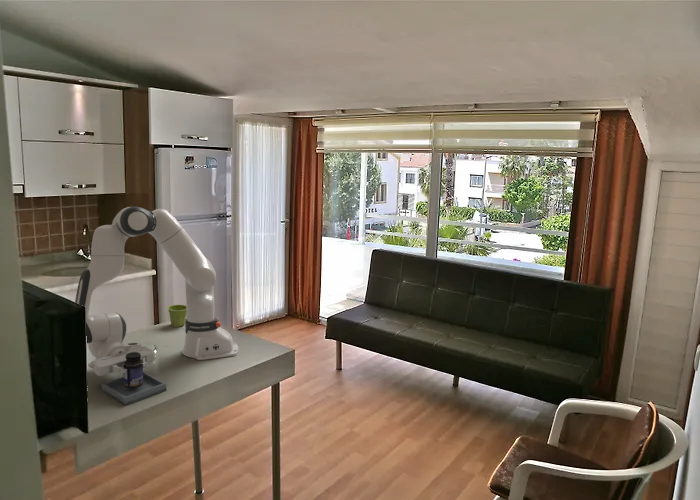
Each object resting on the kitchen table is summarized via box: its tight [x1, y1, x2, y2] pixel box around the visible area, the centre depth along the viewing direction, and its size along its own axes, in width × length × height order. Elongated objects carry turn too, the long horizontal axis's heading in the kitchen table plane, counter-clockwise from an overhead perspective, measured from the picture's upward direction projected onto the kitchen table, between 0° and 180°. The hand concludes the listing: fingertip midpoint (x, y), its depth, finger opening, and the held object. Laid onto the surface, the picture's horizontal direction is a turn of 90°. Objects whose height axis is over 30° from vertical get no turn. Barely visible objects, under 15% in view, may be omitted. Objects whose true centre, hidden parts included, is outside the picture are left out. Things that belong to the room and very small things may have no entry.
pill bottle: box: [123, 352, 144, 388], centre depth 174 cm, size 6×6×11 cm
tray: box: [101, 370, 167, 406], centre depth 175 cm, size 15×15×2 cm
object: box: [167, 304, 186, 328], centre depth 241 cm, size 9×9×9 cm
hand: (134, 368), depth 173 cm, fingers closed on pill bottle, 6 cm apart
